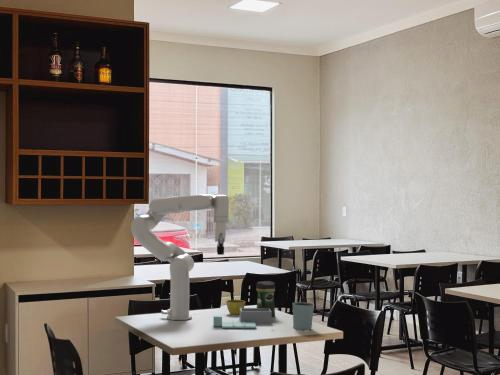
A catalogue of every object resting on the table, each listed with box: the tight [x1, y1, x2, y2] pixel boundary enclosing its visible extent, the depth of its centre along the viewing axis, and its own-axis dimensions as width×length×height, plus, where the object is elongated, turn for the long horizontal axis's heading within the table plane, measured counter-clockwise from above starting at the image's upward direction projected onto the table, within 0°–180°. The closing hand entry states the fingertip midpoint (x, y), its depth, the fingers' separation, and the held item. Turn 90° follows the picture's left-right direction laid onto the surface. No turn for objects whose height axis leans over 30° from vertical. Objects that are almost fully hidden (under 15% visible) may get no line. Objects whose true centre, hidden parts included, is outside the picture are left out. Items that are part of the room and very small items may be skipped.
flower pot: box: [225, 299, 246, 316], centre depth 366 cm, size 10×10×7 cm
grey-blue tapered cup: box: [292, 301, 315, 332], centre depth 330 cm, size 10×10×12 cm
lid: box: [212, 315, 257, 329], centre depth 330 cm, size 20×11×5 cm, turn 93°
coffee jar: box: [255, 280, 276, 318], centre depth 360 cm, size 10×8×19 cm
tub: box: [239, 307, 273, 325], centre depth 343 cm, size 15×10×6 cm, turn 94°
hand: (220, 253), depth 349 cm, fingers open, 9 cm apart
